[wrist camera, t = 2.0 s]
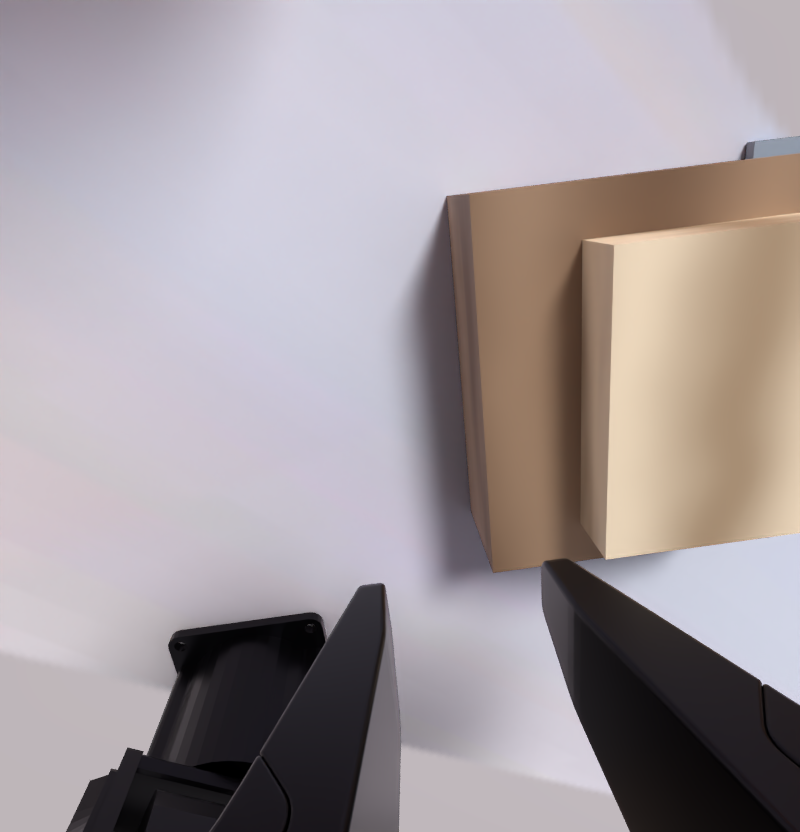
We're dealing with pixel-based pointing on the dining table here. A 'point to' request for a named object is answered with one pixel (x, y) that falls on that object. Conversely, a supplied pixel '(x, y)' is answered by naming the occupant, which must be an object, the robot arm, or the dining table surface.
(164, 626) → the dining table surface
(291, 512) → the dining table surface
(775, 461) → the beige rectangular block
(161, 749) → the robot arm
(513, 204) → the brown wooden flat block
